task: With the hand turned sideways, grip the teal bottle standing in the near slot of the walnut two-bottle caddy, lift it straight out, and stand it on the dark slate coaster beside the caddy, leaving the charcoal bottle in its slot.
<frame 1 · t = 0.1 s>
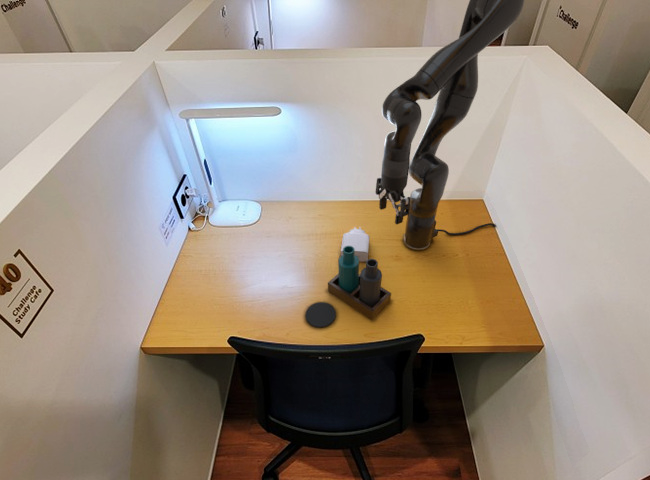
hand: (390, 215, 114), 17 cm above the table, tool pointing down, fingers open, 8 cm apart
coaster: (320, 315, 109), on the table
charger: (355, 246, 130), on the table
charcoal bottle: (369, 302, 112), resting in caddy
caddy: (358, 296, 114), on the table
teal bottle: (348, 289, 116), resting in caddy
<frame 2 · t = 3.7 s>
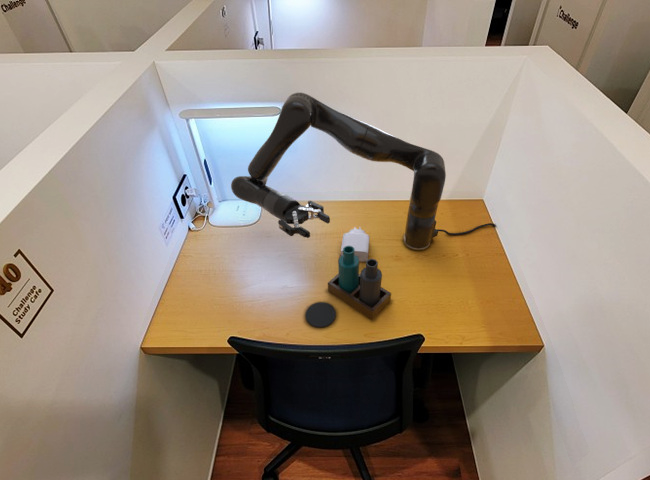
hand: (319, 227, 107), 20 cm above the table, tool horizontal, fingers open, 8 cm apart
nothing on the table moved.
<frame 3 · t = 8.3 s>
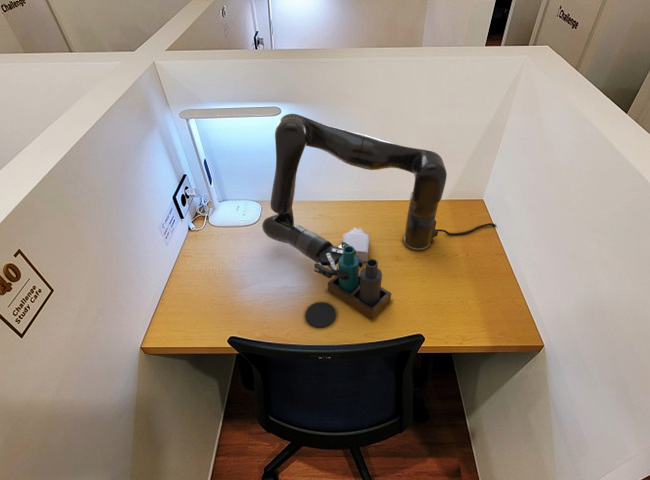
hand: (355, 271, 108), 10 cm above the table, tool horizontal, fingers closed on teal bottle, 6 cm apart
teal bottle: (348, 289, 116), resting in caddy, touching gripper
everything else where it was.
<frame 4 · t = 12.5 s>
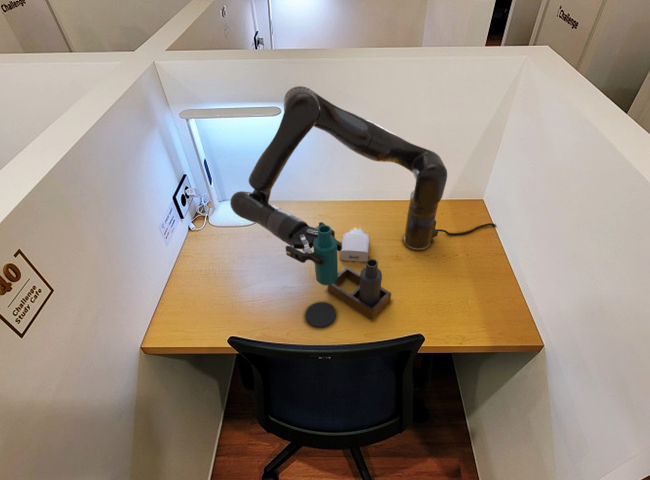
hand: (332, 254, 93), 24 cm above the table, tool horizontal, fingers closed on teal bottle, 6 cm apart
teal bottle: (326, 277, 101), point 14 cm above the table, touching gripper
everything else where it was.
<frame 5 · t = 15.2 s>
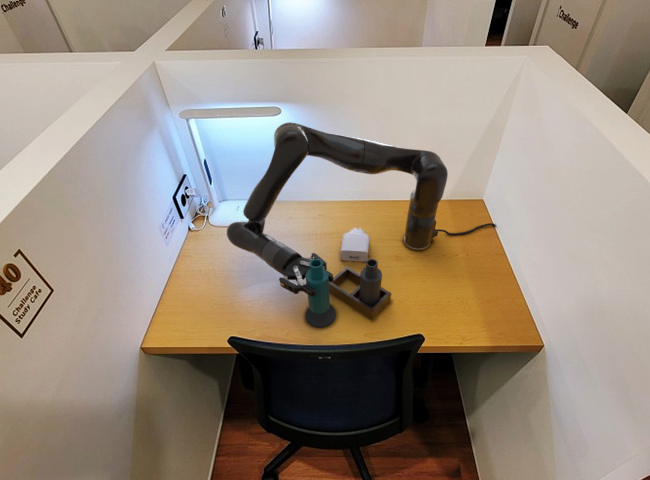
hand: (324, 286, 97), 15 cm above the table, tool horizontal, fingers closed on teal bottle, 6 cm apart
teal bottle: (319, 305, 106), point 5 cm above the table, touching gripper
everything else where it was.
when the fingers open (11 cm above the table, at t = 17.0 s): teal bottle stays where it is, resting on coaster.
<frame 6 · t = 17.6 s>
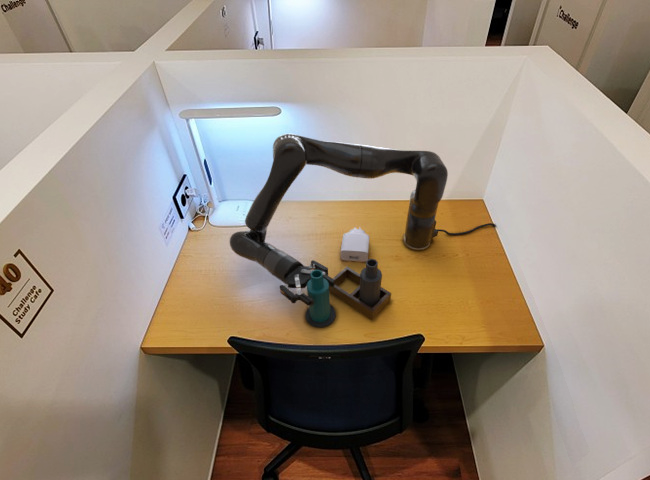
hand: (323, 293, 100), 12 cm above the table, tool horizontal, fingers open, 8 cm apart
teal bottle: (320, 313, 109), point 1 cm above the table, touching coaster
everything else where it was.
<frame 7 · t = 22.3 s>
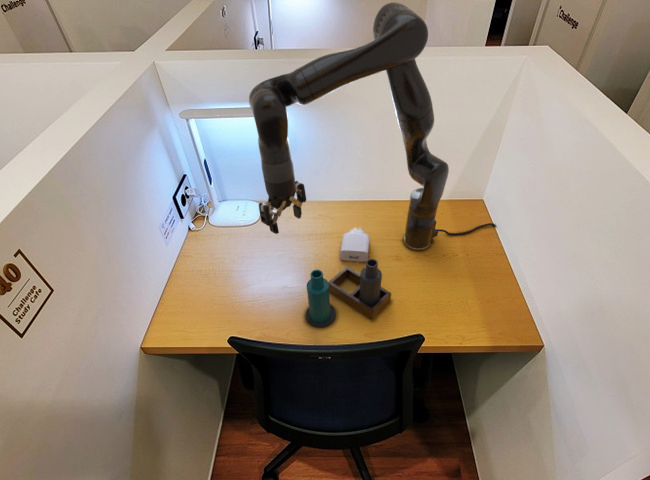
hand: (286, 224, 101), 24 cm above the table, tool pointing down, fingers open, 8 cm apart
nothing on the table moved.
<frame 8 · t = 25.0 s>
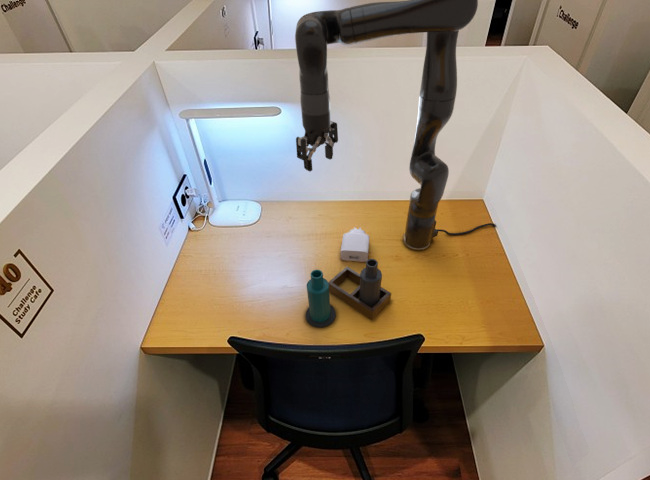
hand: (319, 164, 106), 33 cm above the table, tool pointing down, fingers open, 8 cm apart
nothing on the table moved.
at the end: teal bottle 0.1 cm off-centre on the coaster, point 0.6 cm above the coaster's base; teal bottle tilted 0°; charcoal bottle moved 0.0 cm from its start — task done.
